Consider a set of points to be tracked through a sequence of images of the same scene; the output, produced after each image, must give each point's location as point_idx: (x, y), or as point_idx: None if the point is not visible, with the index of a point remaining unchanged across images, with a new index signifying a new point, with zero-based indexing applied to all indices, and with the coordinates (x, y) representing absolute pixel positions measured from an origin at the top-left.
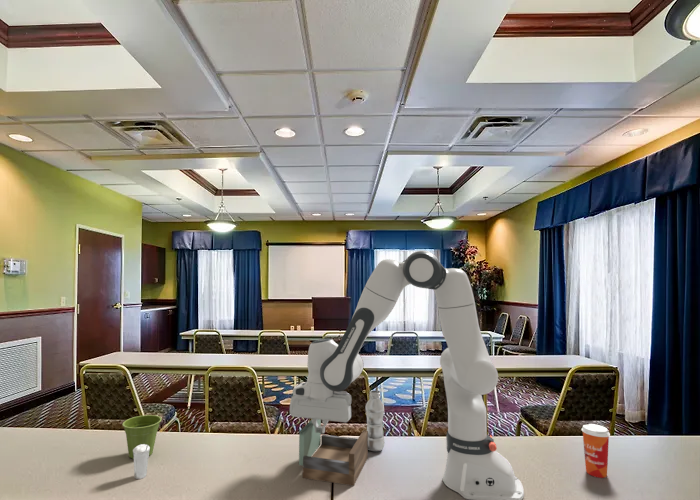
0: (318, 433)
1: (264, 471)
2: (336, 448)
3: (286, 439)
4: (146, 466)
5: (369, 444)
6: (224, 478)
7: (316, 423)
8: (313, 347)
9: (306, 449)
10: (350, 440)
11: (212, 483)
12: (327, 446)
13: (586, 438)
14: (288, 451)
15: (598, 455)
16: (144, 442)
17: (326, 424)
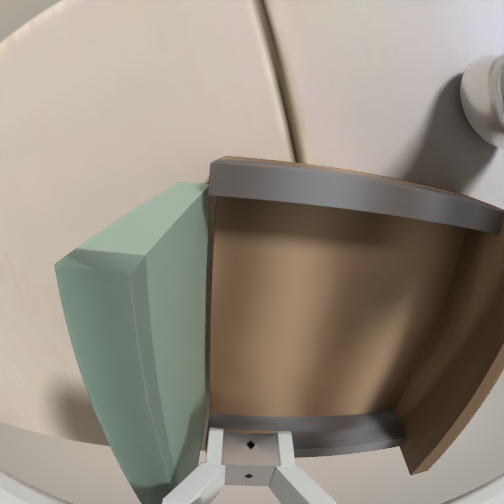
0: (190, 266)
1: (72, 365)
2: (335, 222)
3: (14, 77)
4: None
5: (493, 139)
6: (24, 391)
7: (208, 493)
8: None
9: (198, 436)
10: (443, 222)
11: (24, 405)
12: (268, 202)
13: None
14: (54, 194)
15: None
16: None
17: (312, 486)
